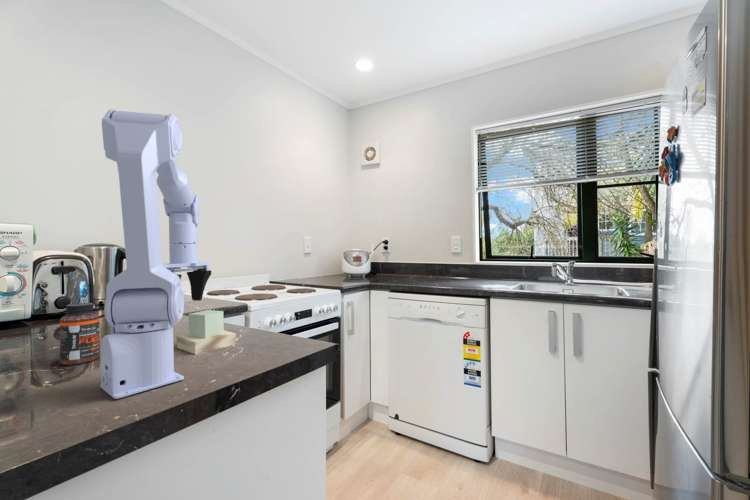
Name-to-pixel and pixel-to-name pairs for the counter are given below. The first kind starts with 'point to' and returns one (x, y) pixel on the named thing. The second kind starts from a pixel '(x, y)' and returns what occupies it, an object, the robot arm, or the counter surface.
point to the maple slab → (205, 342)
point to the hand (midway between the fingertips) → (184, 302)
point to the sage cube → (206, 323)
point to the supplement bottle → (79, 334)
